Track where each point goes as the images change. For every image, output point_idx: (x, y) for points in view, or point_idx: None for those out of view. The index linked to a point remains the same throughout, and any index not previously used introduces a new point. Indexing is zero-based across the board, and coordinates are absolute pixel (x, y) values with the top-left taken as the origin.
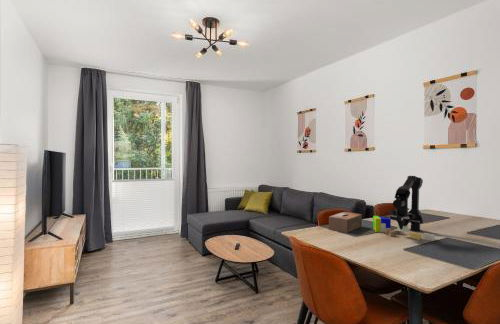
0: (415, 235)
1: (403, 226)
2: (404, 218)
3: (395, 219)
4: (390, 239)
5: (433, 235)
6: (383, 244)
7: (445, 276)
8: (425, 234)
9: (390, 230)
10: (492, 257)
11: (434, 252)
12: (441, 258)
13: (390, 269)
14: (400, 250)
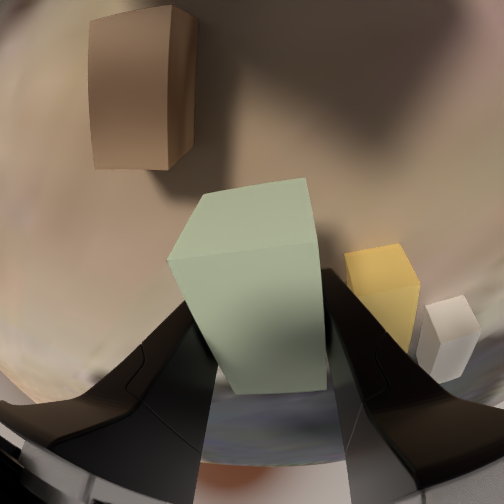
0: None
1: (225, 374)
2: (399, 501)
3: (11, 455)
4: (79, 243)
5: (441, 381)
6: (21, 303)
7: None
8: (434, 356)
9: (133, 93)
10: None
11: (209, 428)
12: None
13: (34, 397)
14: (77, 375)
